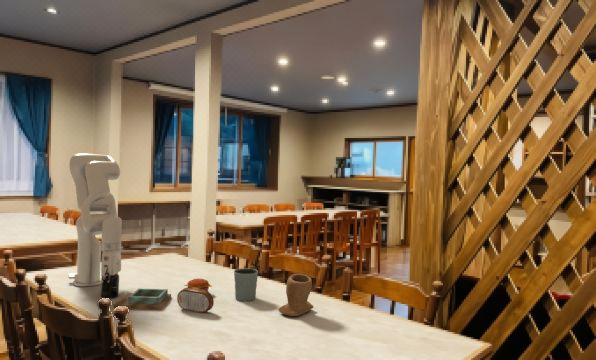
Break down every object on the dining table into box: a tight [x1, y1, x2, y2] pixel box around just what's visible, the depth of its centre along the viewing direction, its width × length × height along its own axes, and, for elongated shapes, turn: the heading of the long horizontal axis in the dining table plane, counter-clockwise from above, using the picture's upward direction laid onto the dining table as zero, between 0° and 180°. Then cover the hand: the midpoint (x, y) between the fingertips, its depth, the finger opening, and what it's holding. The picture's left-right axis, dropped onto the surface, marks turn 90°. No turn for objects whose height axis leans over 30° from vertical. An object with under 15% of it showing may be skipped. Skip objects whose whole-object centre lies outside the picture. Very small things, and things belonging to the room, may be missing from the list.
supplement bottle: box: [100, 273, 120, 299], centre depth 179 cm, size 7×7×12 cm
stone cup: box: [277, 273, 314, 317], centre depth 168 cm, size 15×12×15 cm
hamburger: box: [183, 278, 213, 292], centre depth 188 cm, size 9×10×7 cm
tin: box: [176, 287, 215, 314], centre depth 166 cm, size 15×3×8 cm, turn 71°
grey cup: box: [233, 267, 259, 303], centre depth 183 cm, size 10×10×12 cm
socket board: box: [112, 288, 172, 311], centre depth 173 cm, size 18×16×4 cm
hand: (110, 288), depth 179 cm, fingers closed on supplement bottle, 6 cm apart
